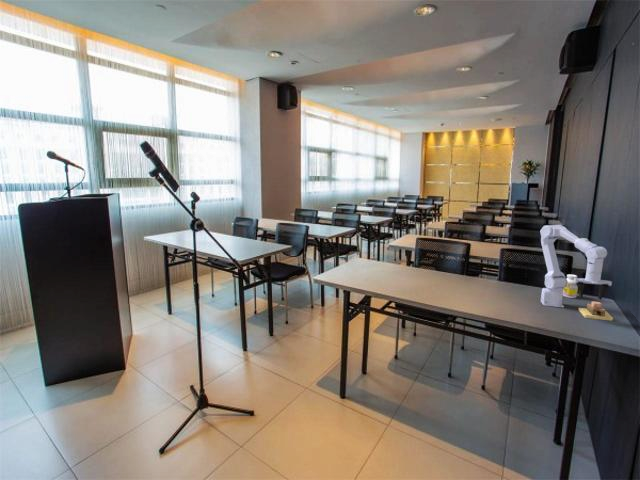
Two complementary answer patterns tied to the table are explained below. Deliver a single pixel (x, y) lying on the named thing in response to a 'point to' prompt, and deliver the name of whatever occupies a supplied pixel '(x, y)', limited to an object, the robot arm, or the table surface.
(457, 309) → the table surface
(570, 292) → the supplement bottle
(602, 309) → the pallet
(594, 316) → the plate
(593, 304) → the salmon pink square block
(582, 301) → the table surface
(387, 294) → the table surface
